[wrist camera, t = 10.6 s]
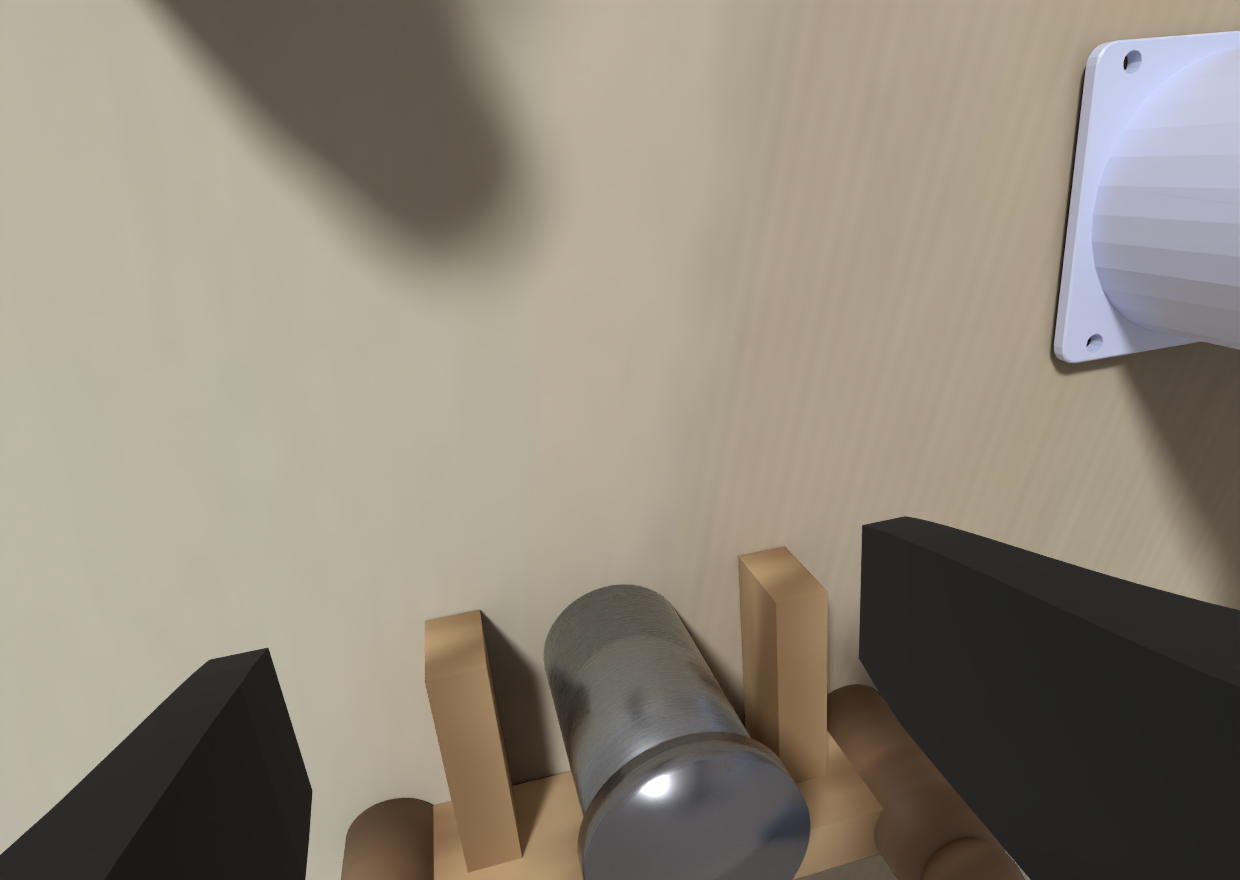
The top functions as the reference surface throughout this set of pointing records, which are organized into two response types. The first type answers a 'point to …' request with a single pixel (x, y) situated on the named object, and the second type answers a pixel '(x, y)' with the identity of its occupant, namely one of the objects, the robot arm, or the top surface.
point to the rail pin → (663, 752)
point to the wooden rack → (774, 715)
